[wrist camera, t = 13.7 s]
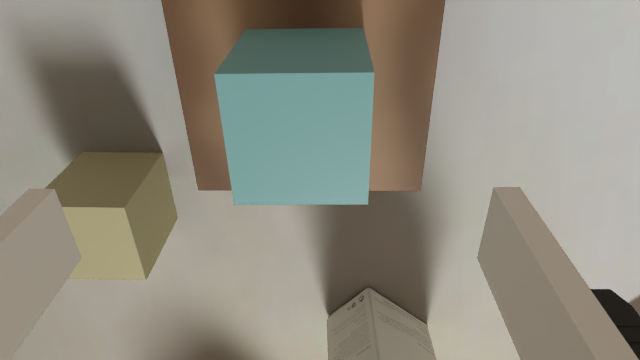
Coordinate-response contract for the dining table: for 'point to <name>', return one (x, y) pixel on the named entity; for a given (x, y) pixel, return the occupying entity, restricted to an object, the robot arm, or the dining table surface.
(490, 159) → the dining table surface
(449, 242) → the dining table surface
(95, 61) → the dining table surface
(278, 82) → the teal block
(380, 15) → the walnut plinth
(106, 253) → the olive block
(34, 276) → the robot arm
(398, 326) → the skincare box
